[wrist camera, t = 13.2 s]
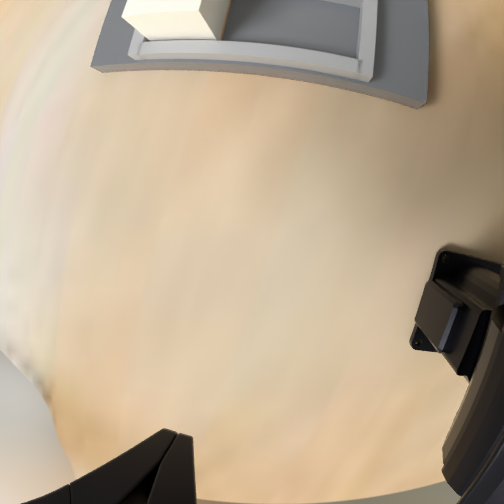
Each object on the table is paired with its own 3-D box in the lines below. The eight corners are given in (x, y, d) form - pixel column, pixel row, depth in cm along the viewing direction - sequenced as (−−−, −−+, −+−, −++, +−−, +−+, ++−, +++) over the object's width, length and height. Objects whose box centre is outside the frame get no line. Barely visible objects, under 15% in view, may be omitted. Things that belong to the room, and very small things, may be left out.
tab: (231, -6, 14) (215, -44, 10) (219, 43, 15) (198, 10, 11) (167, -4, 14) (141, -36, 10) (153, 44, 15) (121, 16, 11)
